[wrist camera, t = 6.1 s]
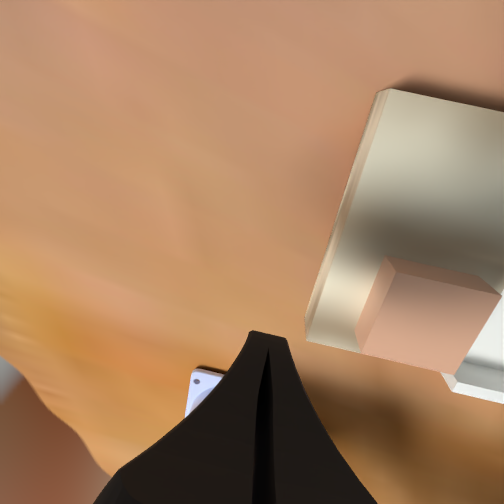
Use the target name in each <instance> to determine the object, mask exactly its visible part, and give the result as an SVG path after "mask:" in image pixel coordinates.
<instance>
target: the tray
mask: <svg viewBox="0 0 504 504" xmlns="http://www.w3.org/2000/svg"><path fill="white" fill-rule="evenodd" d="M501 295H502V297H501V299H500V301H499V302H498V304H497V306H496V307H495V309H494V310H493V312H492V314H491V315H490V317H489V319H488V320H487V322H486V324H485V325H484V327H483V329H482V330H481V332H480V333H479V335H478V337H477V338H476V340H475V342H474V343H473V345H472V347H471V348H470V350H469V352H468V353H467V355H466V356H465V358H464V360H463V361H462V363H461V365H460V366H459V368H458V370H457V371H456V373H455V375H451V374H447V373H442V372H441V374H442V376H443V378H444V379H445V381H446V383H447V384H448V386H449V388H450V390H451V391H452V392H455V393H460V394H464V395H468V396H472V397H477V398H481V399H485V400H489V401H494V402H498V403H502V404H504V289H503V291H502V293H501Z"/></svg>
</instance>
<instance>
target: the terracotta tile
mask: <svg viewBox="0 0 504 504" xmlns="http://www.w3.org/2000/svg"><path fill="white" fill-rule="evenodd" d="M501 297H502V295H501V294H499V293H498V292H497V291H496V290H495V289H494V288H492V287H491V286H490V285H489V284H488V283H486V282H485V281H484V280H483V279H482V278H480V277H479V276H476V275H471V274H467V273H462V272H458V271H453V270H449V269H444V268H440V267H436V266H431V265H427V264H422V263H418V262H413V261H409V260H404V259H400V258H395V257H391V256H387V255H385V256H384V258H383V261H382V263H381V266H380V268H379V270H378V273H377V275H376V278H375V280H374V283H373V285H372V288H371V290H370V293H369V295H368V298H367V300H366V303H365V305H364V308H363V310H362V312H361V315H360V317H359V320H358V322H357V325H356V327H355V330H354V331H355V335H356V338H357V342H358V345H359V348H360V352H361V354H365V355H370V356H374V357H378V358H382V359H387V360H391V361H395V362H400V363H404V364H408V365H412V366H417V367H421V368H425V369H430V370H434V371H438V372H442V373H447V374H451V375H455V373H456V371H457V370H458V368H459V366H460V365H461V363H462V361H463V360H464V358H465V356H466V355H467V353H468V352H469V350H470V348H471V347H472V345H473V343H474V342H475V340H476V338H477V337H478V335H479V333H480V332H481V330H482V329H483V327H484V325H485V324H486V322H487V320H488V319H489V317H490V315H491V314H492V312H493V310H494V309H495V307H496V306H497V304H498V302H499V301H500V299H501Z"/></svg>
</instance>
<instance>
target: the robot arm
mask: <svg viewBox="0 0 504 504" xmlns="http://www.w3.org/2000/svg"><path fill="white" fill-rule="evenodd" d="M196 379H198V380H196ZM93 504H378V503H377V502H376V501H375V500H374V498H373V497H372V496H371V495H370V493H369V492H368V491H367V489H366V488H365V487H364V486H363V484H362V483H361V482H360V481H359V479H358V478H357V476H356V475H355V474H354V472H353V471H352V469H351V468H350V467H349V465H348V464H347V462H346V461H345V459H344V458H343V457H342V455H341V454H340V452H339V451H338V449H337V448H336V446H335V444H334V443H333V441H332V440H331V438H330V437H329V435H328V433H327V431H326V430H325V428H324V426H323V425H322V423H321V421H320V419H319V417H318V416H317V414H316V412H315V410H314V408H313V406H312V404H311V402H310V400H309V398H308V396H307V393H306V391H305V389H304V387H303V384H302V382H301V379H300V377H299V375H298V372H297V370H296V367H295V364H294V361H293V359H292V356H291V352H290V349H289V346H288V342H287V340H286V338H283V337H279V336H275V335H271V334H266V333H262V332H258V331H254V330H252V331H250V332H249V334H248V337H247V340H246V342H245V344H244V346H243V348H242V350H241V351H240V353H239V355H238V356H237V358H236V359H235V361H234V362H233V364H232V365H231V367H230V368H229V370H228V371H227V372H226V374H225V375H224V374H220V373H216V372H211V371H207V370H203V369H194V370H193V372H192V375H191V380H190V387H189V393H188V400H187V406H186V413H185V418H184V419H183V420H182V421H181V422H180V423H179V424H178V425H177V426H175V427H174V428H173V429H172V430H171V431H169V432H168V433H167V434H166V435H165V436H163V437H162V438H161V439H160V440H158V441H157V442H156V443H155V444H153V445H152V446H151V447H149V448H148V449H147V450H145V451H144V452H143V453H141V454H140V455H138V456H137V457H135V458H134V459H133V460H131V461H130V462H128V463H127V464H126V465H124V466H123V467H121V468H120V469H119V470H118V471H117V472H116V473H115V475H114V476H113V477H112V478H111V480H110V481H109V482H108V483H107V485H106V486H105V487H104V489H103V490H102V492H101V493H100V494H99V496H98V497H97V499H96V500H95V502H94V503H93Z"/></svg>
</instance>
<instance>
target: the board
mask: <svg viewBox="0 0 504 504" xmlns="http://www.w3.org/2000/svg"><path fill="white" fill-rule="evenodd" d="M385 255H387V256H391V257H395V258H400V259H404V260H409V261H413V262H418V263H422V264H427V265H431V266H436V267H440V268H444V269H449V270H453V271H458V272H462V273H467V274H471V275H476V276H479V277H480V278H482V279H483V280H484V281H485V282H486V283H488V284H489V285H490V286H491V287H492V288H494V289H495V290H496V291H497V292H498V293H499V294H501V293H502V291H503V289H504V112H500V111H495V110H491V109H486V108H481V107H476V106H472V105H467V104H462V103H457V102H453V101H448V100H443V99H438V98H434V97H429V96H424V95H419V94H415V93H410V92H405V91H400V90H396V89H391V88H390V89H387V90H383V91H380V92H377V93H376V95H375V98H374V101H373V104H372V107H371V110H370V114H369V117H368V120H367V123H366V126H365V129H364V132H363V136H362V139H361V142H360V145H359V148H358V151H357V154H356V157H355V161H354V164H353V167H352V170H351V173H350V176H349V179H348V183H347V186H346V189H345V192H344V195H343V198H342V201H341V204H340V208H339V211H338V214H337V217H336V220H335V223H334V226H333V230H332V233H331V236H330V239H329V242H328V245H327V248H326V252H325V255H324V258H323V261H322V264H321V267H320V270H319V273H318V277H317V280H316V283H315V286H314V289H313V292H312V295H311V299H310V302H309V305H308V308H307V311H306V314H305V331H306V341H310V342H314V343H318V344H323V345H327V346H331V347H336V348H340V349H344V350H348V351H353V352H357V353H361V352H360V348H359V345H358V342H357V338H356V335H355V331H354V330H355V327H356V325H357V322H358V320H359V317H360V315H361V312H362V310H363V308H364V305H365V303H366V300H367V298H368V295H369V293H370V290H371V288H372V285H373V283H374V280H375V278H376V275H377V273H378V270H379V268H380V266H381V263H382V261H383V258H384V256H385Z"/></svg>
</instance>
